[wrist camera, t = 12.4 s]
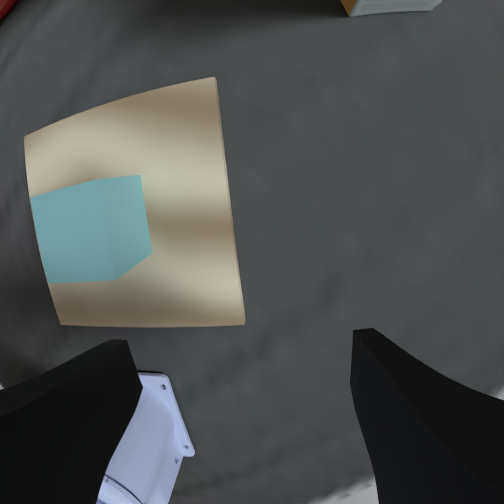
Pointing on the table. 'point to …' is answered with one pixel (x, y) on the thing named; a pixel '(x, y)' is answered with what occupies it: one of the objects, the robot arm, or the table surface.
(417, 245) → the table surface
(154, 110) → the birch board
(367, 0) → the small box
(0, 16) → the liquor
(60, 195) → the teal cube
